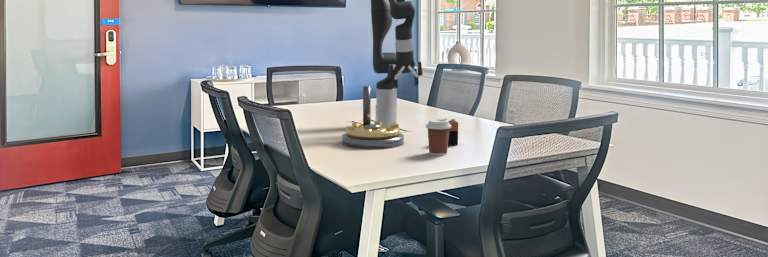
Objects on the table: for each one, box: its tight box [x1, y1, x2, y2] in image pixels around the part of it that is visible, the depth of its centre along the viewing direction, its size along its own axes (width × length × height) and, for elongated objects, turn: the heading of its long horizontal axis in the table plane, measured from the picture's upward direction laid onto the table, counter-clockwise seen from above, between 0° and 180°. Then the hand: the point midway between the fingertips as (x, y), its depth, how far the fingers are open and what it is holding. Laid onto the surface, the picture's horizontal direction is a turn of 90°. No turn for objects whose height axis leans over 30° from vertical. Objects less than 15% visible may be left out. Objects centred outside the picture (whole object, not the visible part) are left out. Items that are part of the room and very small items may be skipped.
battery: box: [443, 118, 459, 146], centre depth 246 cm, size 4×7×10 cm, turn 97°
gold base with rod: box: [345, 85, 401, 139], centre depth 248 cm, size 21×21×18 cm
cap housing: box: [341, 132, 405, 150], centre depth 250 cm, size 24×24×3 cm
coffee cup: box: [425, 118, 451, 156], centre depth 229 cm, size 9×9×12 cm
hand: (406, 86), depth 276 cm, fingers open, 8 cm apart
